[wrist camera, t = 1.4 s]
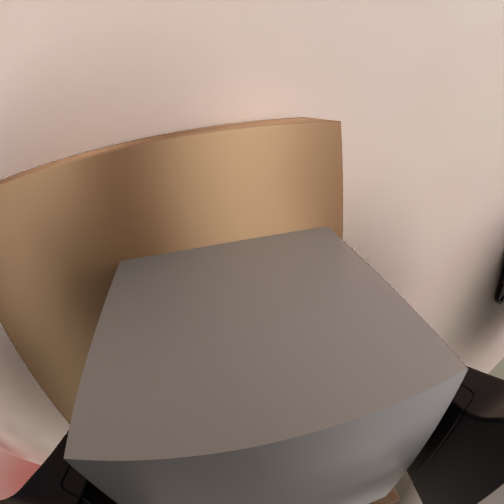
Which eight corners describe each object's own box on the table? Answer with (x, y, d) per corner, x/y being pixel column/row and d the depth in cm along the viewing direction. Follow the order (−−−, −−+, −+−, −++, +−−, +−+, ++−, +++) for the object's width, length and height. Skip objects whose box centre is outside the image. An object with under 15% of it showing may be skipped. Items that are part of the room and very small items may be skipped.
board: (303, 117, 10) (487, 153, 3) (303, 467, 22) (330, 543, 15) (-3, 181, 9) (-147, 282, 2) (166, 489, 20) (174, 567, 13)
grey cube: (327, 226, 9) (468, 368, 4) (322, 368, 12) (385, 496, 6) (119, 261, 8) (63, 458, 3) (171, 397, 11) (181, 543, 6)
